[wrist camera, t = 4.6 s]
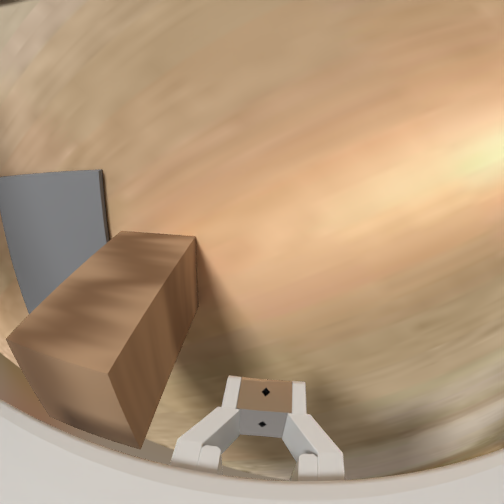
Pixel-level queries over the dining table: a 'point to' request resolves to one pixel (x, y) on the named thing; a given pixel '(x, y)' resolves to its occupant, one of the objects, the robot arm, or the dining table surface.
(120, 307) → the walnut block
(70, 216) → the panel
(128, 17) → the dining table surface
